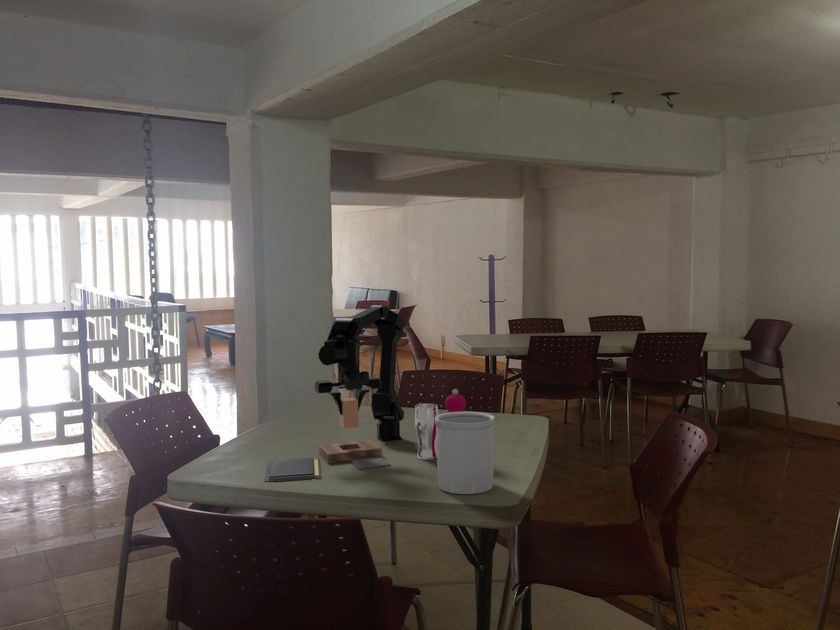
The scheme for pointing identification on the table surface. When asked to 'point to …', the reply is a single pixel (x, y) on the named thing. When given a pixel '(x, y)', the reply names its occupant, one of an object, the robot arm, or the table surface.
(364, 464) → the pad
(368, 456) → the pocket board
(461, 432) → the utensil holder
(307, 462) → the dark blue flat slab
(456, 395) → the pepper mill
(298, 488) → the table surface
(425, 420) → the beer glass
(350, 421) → the block
